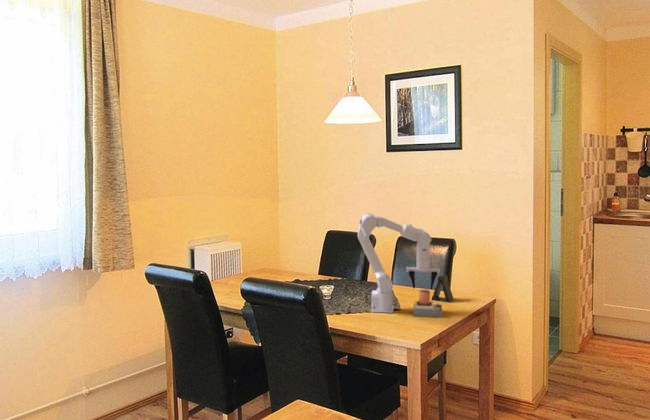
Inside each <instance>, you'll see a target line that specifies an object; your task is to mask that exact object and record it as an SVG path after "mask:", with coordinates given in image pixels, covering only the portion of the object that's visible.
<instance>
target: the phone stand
mask: <svg viewBox="0 0 650 420" xmlns="http://www.w3.org/2000/svg"><path fill="white" fill-rule="evenodd" d="M448 278H449V276H448V274H444V273H442V274H441V275H439V276H438V278H437V284H436V286H435V289H434V291H433V294H432V295H431V296H432V297H431V298H430V299H431V300H430V301H433V302H434V301H436V302H442V303H450V302H452V301H453V300H454V296H453V293H452V291H451V287H450V283H449V281H448V280H449V279H448ZM441 291H443V293H444V296H443V297H442V296H440V294H441Z"/></svg>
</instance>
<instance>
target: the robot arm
mask: <svg viewBox="0 0 650 420" xmlns="http://www.w3.org/2000/svg"><path fill="white" fill-rule="evenodd" d="M382 227H383V228H384V227H385V228H387V229H390V230H393V231H396V232H398V233H400V237H403V238H405V239H407V240H410V241H413V242H416V266H406V273H408V275H409V277H410V280H411V284H412V289H415V288H416V281H415V280H416V279H415V276H416V273H427V274H428V273H431V275H430V277H431V279H430V290H433V286H434V283H435V281H436V278H437V276H438V274H440V273H441V272H440V271H441V270H440V269H441V268H439V267H430V262H431V261H430V260H431V259H430V258H431V257H430V256H431V252H430V251H431V248H430V244H431V243H432V237H431V235H430V234H429V233H428V232H427V231H426V230H424V229H422V228H417V227H415V226H413V225H412V224H410V223H409V224H407V223H405V224H404V225H401V224H399V223H397V222H395V221H392V220H390V219H388V218H386V217H383V216H380V215H377V214H372V213H371V212H369V213H365V214H363V215H362V216H361V218H360V220H359V224H358V231H357V239H358V241H359V243H360V246H361V247H362V249H363V252H364V254H365V256H366V258H367V260H368V262H369V264H370V267H371V268H372V271H373V273H374V275H375V278H376V283H377V285H378V286H377V288H376V289H375V290H372V291H371V310H370V311H371V312H372V313H387V314H388V313H390V314H392V313H394V309H395V307H394V306H393V303H394V301H393V300H394V295H393V293H394V290H393V287H394V284H393V283H394V282H393V281H392V279H391V277H390V276H389V275H388V274H387V273H386V271H385V269H384V267H383V265H382V262H381V261H380V259H379V257H378V254H377V252H376V250H375V248H374V245H373V243H372V242H371V240H370V236H371V233H372V232H373V230H375V228H378V229H379V228H382Z"/></svg>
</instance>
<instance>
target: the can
mask: <svg viewBox="0 0 650 420" xmlns="http://www.w3.org/2000/svg"><path fill="white" fill-rule="evenodd" d="M418 294H419V295H418V301H419V305H423V306H430V302H431V300H430V299H431V291H430V290H428V289H420V290H419V293H418Z"/></svg>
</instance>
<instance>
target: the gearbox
mask: <svg viewBox="0 0 650 420" xmlns="http://www.w3.org/2000/svg"><path fill="white" fill-rule="evenodd" d="M413 317H422V318H423V317H424V318H425V317H426V318H443V307H442V304H440V303H436V304H434V301H430V306H423V305H419V300H415V302H414V304H413Z"/></svg>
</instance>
